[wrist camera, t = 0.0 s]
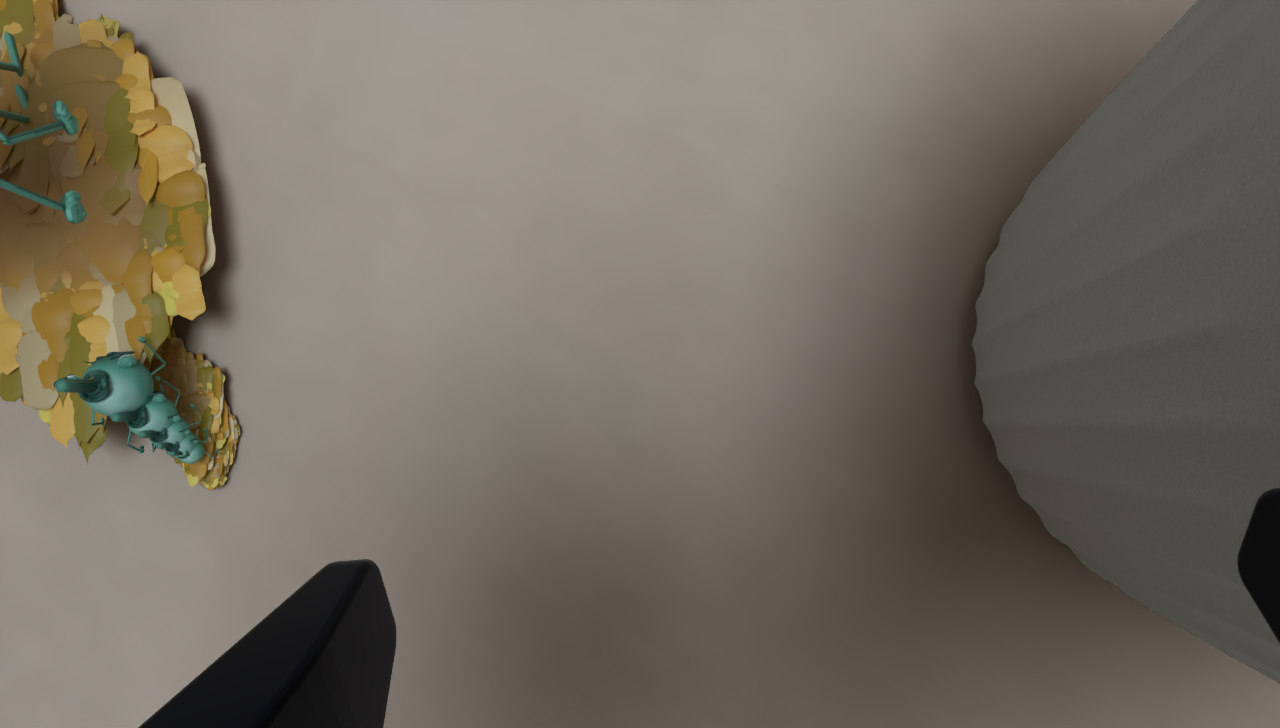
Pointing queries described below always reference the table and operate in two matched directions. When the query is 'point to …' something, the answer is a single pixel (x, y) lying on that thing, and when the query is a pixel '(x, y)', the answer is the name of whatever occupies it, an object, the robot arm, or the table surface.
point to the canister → (1152, 327)
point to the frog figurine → (103, 242)
